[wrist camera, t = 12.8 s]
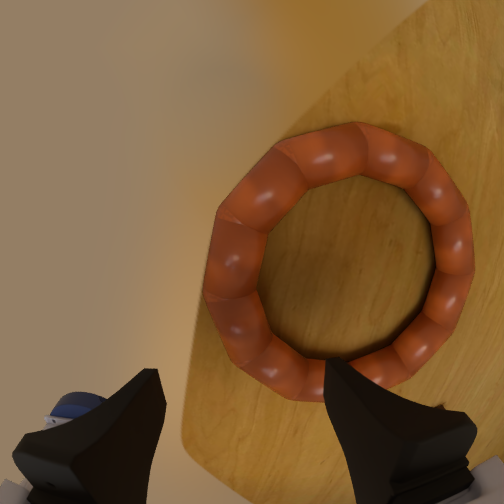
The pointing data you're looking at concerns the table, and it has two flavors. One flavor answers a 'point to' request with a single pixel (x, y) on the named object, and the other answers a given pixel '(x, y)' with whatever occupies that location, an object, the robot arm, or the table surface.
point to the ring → (279, 204)
